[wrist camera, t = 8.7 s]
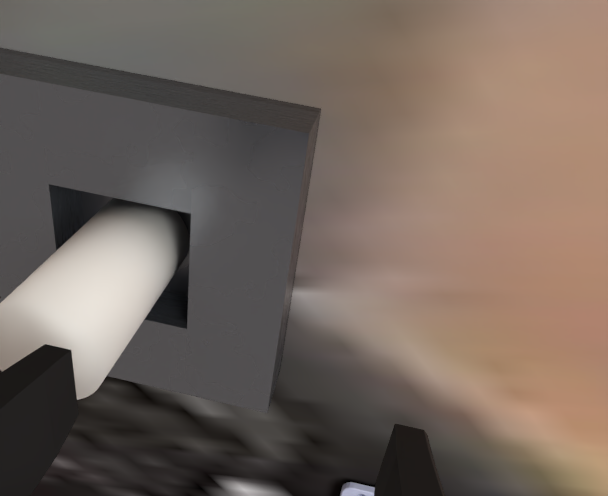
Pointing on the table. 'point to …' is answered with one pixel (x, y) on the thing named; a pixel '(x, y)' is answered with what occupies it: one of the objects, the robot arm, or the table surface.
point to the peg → (95, 289)
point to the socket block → (166, 194)
